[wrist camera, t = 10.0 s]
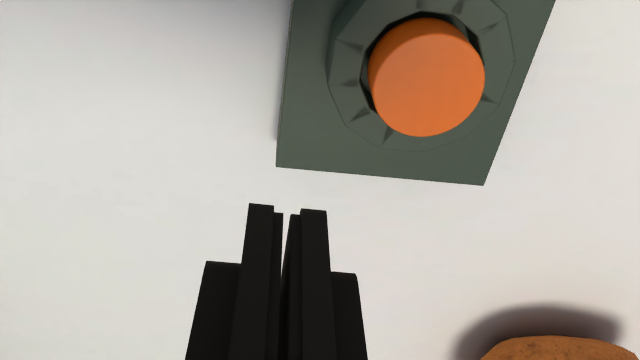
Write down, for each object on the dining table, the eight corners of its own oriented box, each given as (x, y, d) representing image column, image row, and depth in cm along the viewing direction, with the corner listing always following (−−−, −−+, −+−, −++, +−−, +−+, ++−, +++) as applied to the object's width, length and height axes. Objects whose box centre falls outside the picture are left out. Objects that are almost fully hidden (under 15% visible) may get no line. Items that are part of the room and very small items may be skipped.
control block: (306, -141, 19) (309, -132, 16) (565, -100, 20) (618, -83, 17) (276, 142, 26) (274, 190, 22) (470, 161, 27) (495, 209, 23)
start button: (378, 10, 18) (385, 26, 17) (485, 23, 19) (501, 40, 17) (358, 110, 21) (363, 132, 19) (454, 120, 21) (466, 142, 20)
